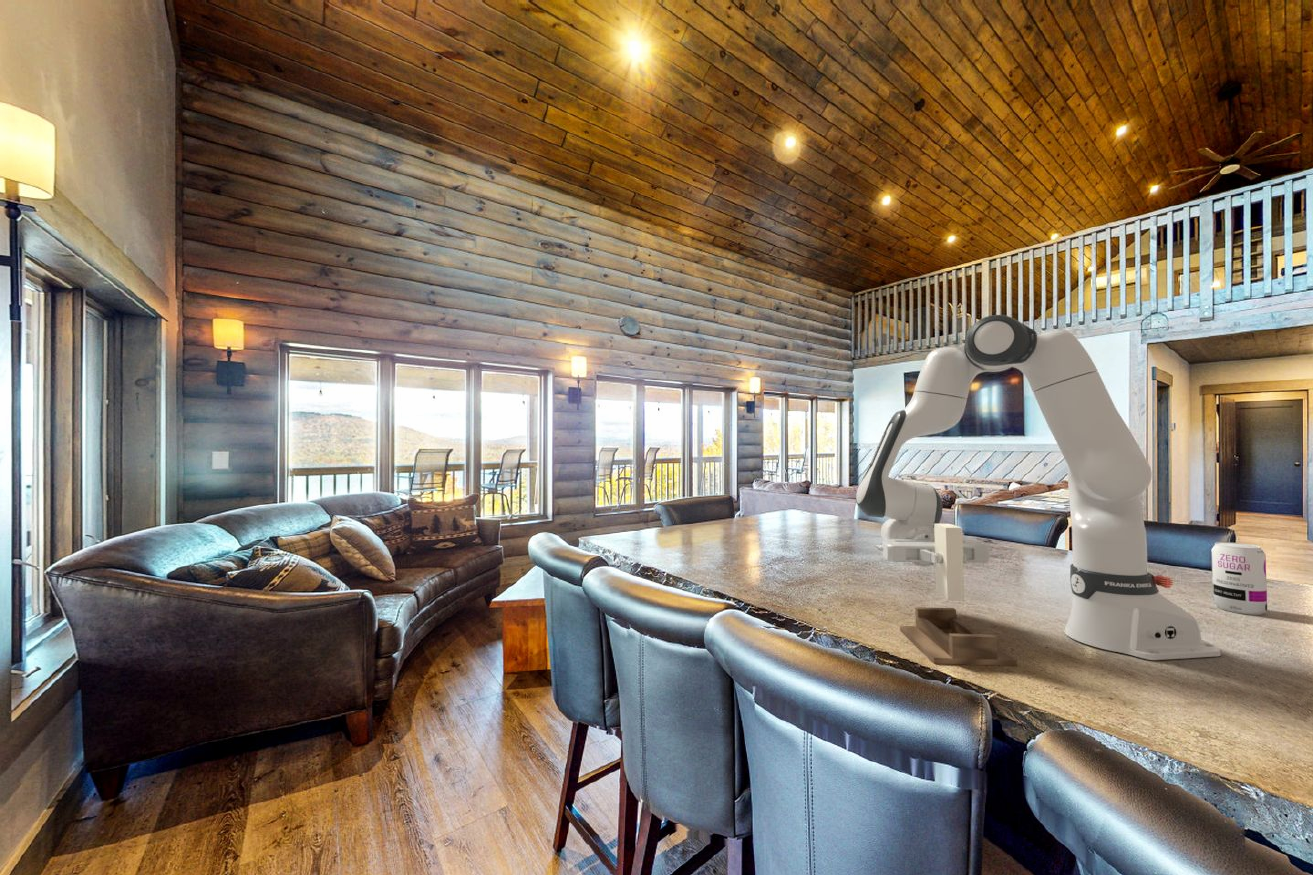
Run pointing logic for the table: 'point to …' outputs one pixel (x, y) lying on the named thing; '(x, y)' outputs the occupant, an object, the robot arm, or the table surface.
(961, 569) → the cream rectangular block
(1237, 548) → the supplement can
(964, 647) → the track board
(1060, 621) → the table surface
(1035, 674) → the table surface
